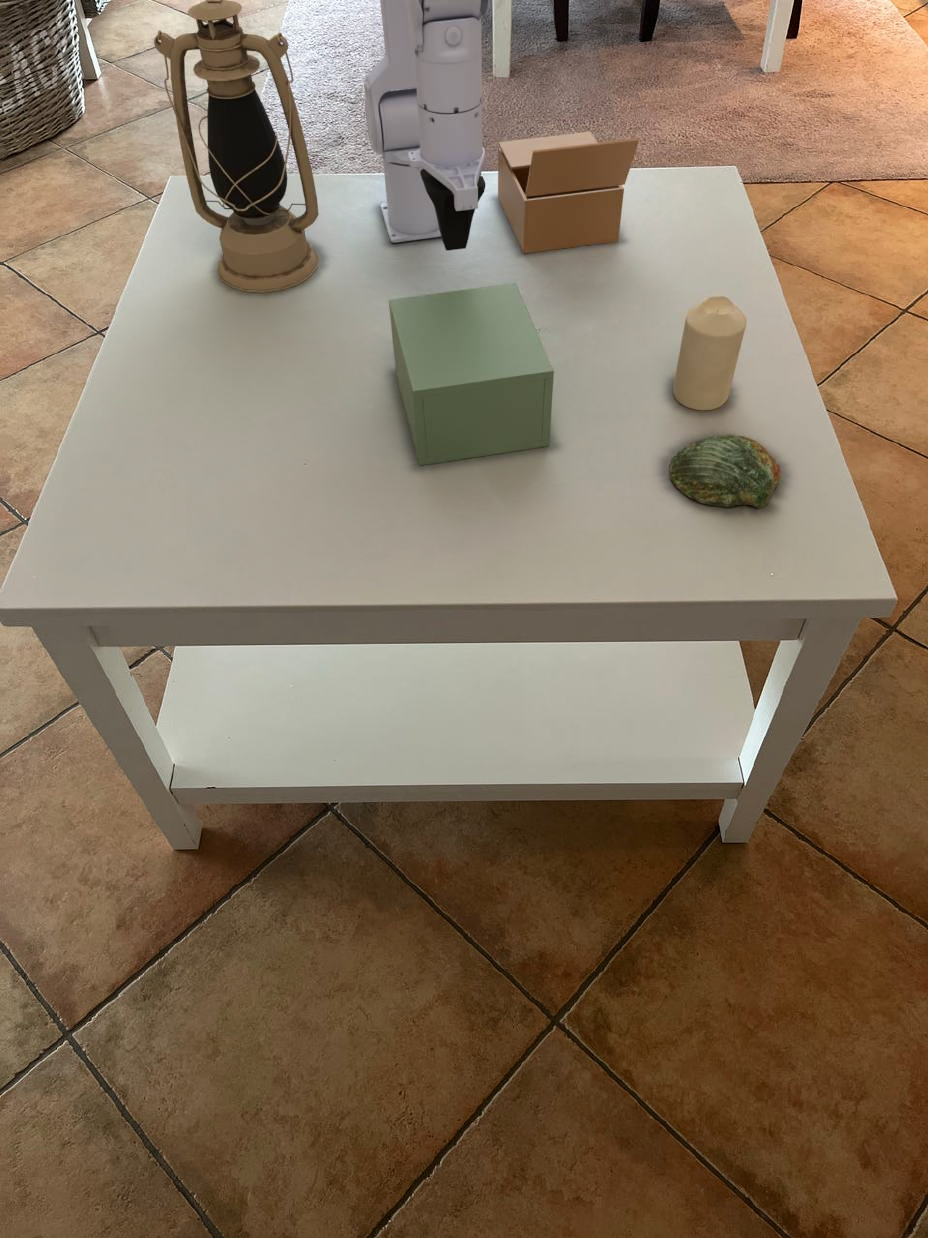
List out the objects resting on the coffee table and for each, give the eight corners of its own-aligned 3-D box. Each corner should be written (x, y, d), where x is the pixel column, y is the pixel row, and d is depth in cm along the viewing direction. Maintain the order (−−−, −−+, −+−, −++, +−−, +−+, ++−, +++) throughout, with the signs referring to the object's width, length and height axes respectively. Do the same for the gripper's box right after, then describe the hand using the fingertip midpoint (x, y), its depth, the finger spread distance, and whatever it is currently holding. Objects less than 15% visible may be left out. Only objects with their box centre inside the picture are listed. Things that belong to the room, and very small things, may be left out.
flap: (624, 182, 105) (624, 184, 105) (525, 194, 103) (525, 196, 103) (638, 137, 98) (639, 140, 98) (532, 150, 97) (533, 152, 97)
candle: (727, 413, 89) (749, 324, 82) (670, 407, 90) (687, 318, 82) (729, 379, 93) (750, 290, 85) (674, 374, 93) (690, 285, 86)
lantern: (194, 289, 106) (108, -12, 82) (223, 236, 113) (152, -54, 90) (316, 295, 104) (265, -10, 81) (337, 241, 112) (296, -53, 88)
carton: (618, 241, 110) (624, 182, 105) (523, 253, 109) (524, 194, 103) (586, 187, 119) (590, 130, 113) (497, 198, 117) (498, 141, 112)
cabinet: (395, 373, 95) (388, 299, 88) (514, 357, 96) (515, 282, 89) (419, 466, 86) (412, 391, 79) (549, 446, 87) (554, 370, 80)
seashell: (747, 393, 84) (815, 459, 79) (741, 427, 88) (805, 493, 82) (653, 430, 83) (714, 500, 77) (650, 463, 86) (709, 533, 80)
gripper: (393, 72, 84) (404, 215, 95) (418, 141, 75) (427, 290, 86) (467, 64, 85) (470, 206, 96) (501, 131, 76) (500, 280, 87)
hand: (454, 245), depth 91 cm, fingers closed
